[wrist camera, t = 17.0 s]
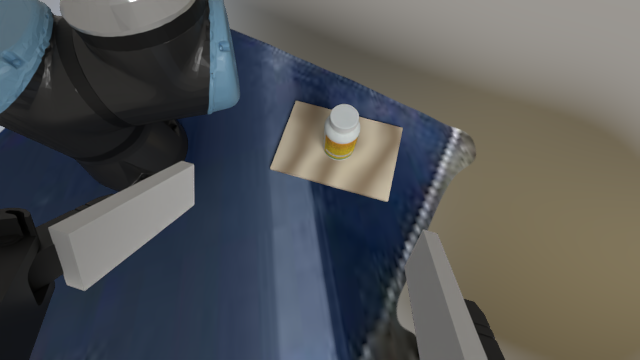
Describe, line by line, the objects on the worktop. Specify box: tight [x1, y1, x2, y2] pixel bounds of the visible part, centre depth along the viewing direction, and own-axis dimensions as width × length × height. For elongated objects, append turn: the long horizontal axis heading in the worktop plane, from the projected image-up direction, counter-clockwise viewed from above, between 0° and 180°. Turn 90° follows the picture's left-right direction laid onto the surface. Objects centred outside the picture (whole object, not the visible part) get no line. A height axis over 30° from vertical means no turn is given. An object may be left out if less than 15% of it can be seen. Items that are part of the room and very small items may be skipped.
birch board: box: [270, 101, 403, 202], centre depth 44 cm, size 20×14×1 cm
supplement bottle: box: [323, 104, 360, 161], centre depth 39 cm, size 5×5×10 cm
